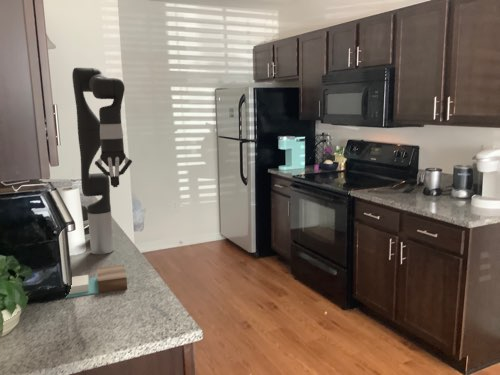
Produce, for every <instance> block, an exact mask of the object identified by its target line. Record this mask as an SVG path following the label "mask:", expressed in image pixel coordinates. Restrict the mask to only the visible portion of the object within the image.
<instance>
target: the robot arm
mask: <svg viewBox="0 0 500 375" xmlns="http://www.w3.org/2000/svg"><path fill="white" fill-rule="evenodd" d="M71 76H72V87H73V93H74V99H75V106H76V121H77V135H78V136H77V137H78V146H79V153H80V155H79V156H80V176H81V177H80V180H81V184H80V185H81V192H82V194H83V196H84V197H97V196H98V197H100V199H98V200H97V201H96V202H92V203H91V204H89V205H87V206H88V207H86V208H87V220H88V232H89V233H88V234H89V243H90V244H89V245H90V253H91V254H93V255H104V254H106V255H107V254H110V253H112V252H114V250H115V246H114V233H113V231H112V230H113V220H112V218H111V217H112V207H111V206H110V205H111V196H110V194H111V192H110V191H111V188H110V186H111V187H113V188H118V186H120V176H121V175H124V174H125V173H126V171H127V169H129V167H130V165H131V164H132V163H133V161H132V159H130V158H128V157H127V156H126V152H125V149H124V148H125V146H124V144H125V143H124V133H123V132H124V131H123V127H122V126H123V125H122V104H123V99H124V95H125V83H124V82H123V80H122V79H120V78H119V77H108V76H105V75H104V74H103V72H102V71H101V69H98V68H96V67H95V68H94V67H75V68H73V70H72V75H71ZM86 92H87V93H92V95H93V97H94V98H96V99H98V100H112V103H111V104H110V105H109V104H108V105H105V106H101V107H100V108H99V110H98V116H99V118H98V117H97V116H96V114H95V113H94V112H93V110H92V109H91V107H90V106H89V103H88V102H87V100H86V97H85V95H84V94H85V93H86ZM99 150H101V151H100V155H99V159H97V160H95V161H94V158H95V157H96V155H97V153H98V152H99ZM93 162H94V166H96V168H98V169H99V170H100V171H101V172H102V173H100V172H99V173H90V168H91V165H92V163H93ZM123 162H124V165H123V166H122V168H121V169H120V166H121V165H122V164H123ZM103 163H104V164H105V166H107V167H108V170H109V171H107V169H106V168H105V167H104V166H103ZM113 167H114V168H113Z"/></svg>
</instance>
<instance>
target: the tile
mask: <svg viewBox="0 0 500 375" xmlns="http://www.w3.org/2000/svg"><path fill="white" fill-rule="evenodd" d="M71 277H72V285H71V289H70V292H69V294H73V293H80V292H87V291H89V274H84V275H77V276H71Z"/></svg>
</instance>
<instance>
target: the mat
mask: <svg viewBox="0 0 500 375" xmlns="http://www.w3.org/2000/svg"><path fill="white" fill-rule="evenodd" d="M88 278H89V277H88ZM96 294H100V293H99V291H98V276H96V277H91V278H89V291H87V292H80V293H73V294H68V295H67V296H66V297H65V296H64V299H70V298H76V297H83V296H90V295H96Z"/></svg>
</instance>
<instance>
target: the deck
mask: <svg viewBox="0 0 500 375" xmlns="http://www.w3.org/2000/svg"><path fill="white" fill-rule="evenodd" d="M96 270H97V272H96V273H97V277H98V291H99V293H98V294H100V293H107V292H114V291H121V290H128V279H127V274H126V268H125V264H119V265H112V266H111V265H110V266H104V267H97V268H96Z"/></svg>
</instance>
